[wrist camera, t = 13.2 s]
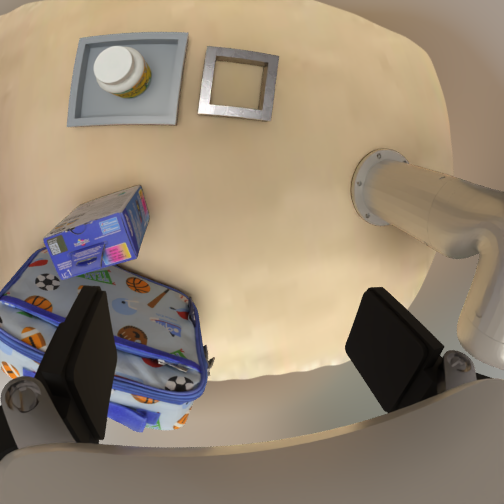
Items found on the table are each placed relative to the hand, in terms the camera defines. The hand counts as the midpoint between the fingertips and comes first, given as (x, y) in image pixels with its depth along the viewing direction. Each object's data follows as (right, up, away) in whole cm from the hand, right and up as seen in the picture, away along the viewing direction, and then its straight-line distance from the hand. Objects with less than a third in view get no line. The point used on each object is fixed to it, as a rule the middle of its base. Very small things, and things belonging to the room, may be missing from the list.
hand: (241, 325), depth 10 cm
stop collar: (-2, +24, +23) cm, 33 cm away
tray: (-15, +24, +20) cm, 35 cm away
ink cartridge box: (-18, +8, +26) cm, 33 cm away
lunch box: (-20, -3, +31) cm, 37 cm away
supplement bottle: (-15, +24, +19) cm, 34 cm away
